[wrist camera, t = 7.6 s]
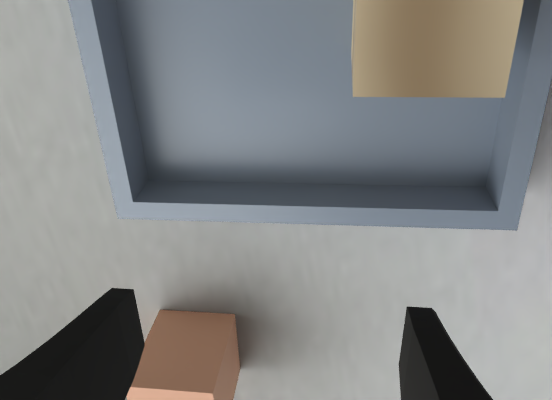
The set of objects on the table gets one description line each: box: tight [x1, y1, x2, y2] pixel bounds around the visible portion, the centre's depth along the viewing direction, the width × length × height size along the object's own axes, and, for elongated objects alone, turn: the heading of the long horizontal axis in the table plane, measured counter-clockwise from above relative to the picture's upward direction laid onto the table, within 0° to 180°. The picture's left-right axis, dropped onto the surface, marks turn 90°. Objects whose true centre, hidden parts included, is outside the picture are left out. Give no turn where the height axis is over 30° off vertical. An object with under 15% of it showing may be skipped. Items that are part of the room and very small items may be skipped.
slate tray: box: [68, 0, 552, 230], centre depth 18 cm, size 16×14×2 cm
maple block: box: [351, 0, 524, 98], centre depth 15 cm, size 4×4×5 cm
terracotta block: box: [127, 310, 240, 400], centre depth 25 cm, size 4×4×5 cm
